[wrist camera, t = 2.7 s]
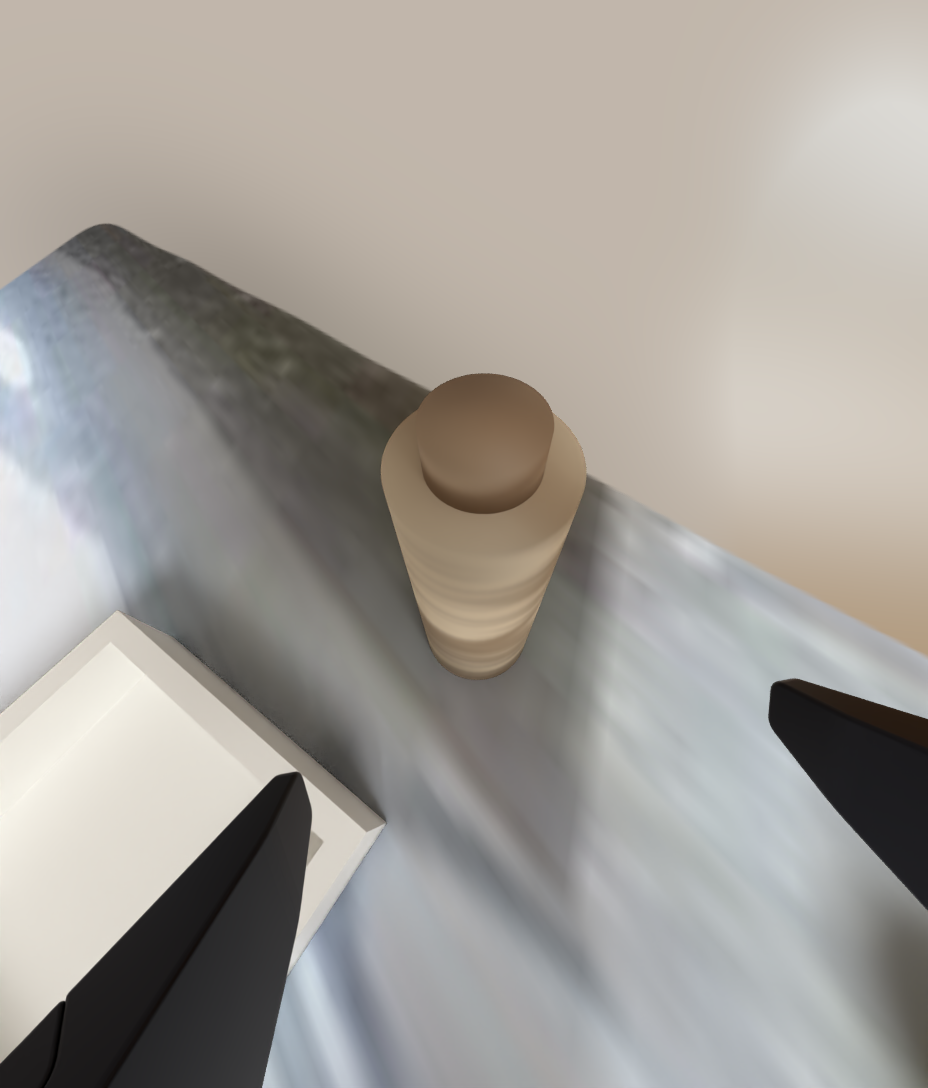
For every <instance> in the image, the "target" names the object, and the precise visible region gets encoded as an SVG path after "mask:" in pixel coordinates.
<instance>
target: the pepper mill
mask: <svg viewBox="0 0 928 1088" xmlns="http://www.w3.org/2000/svg"><path fill="white" fill-rule="evenodd" d="M381 481H382V486H383V490H384V494H385V497H386V500H387V504H388V507H389V510H390V514H391V517H392V521H393V524H394V527H395V531H396V534H397V537H398V541H399V544H400V547H401V551H402V554H403V558H404V561H405V564H406V568H407V571H408V574H409V578H410V581H411V584H412V588H413V591H414V595H415V598H416V601H417V605H418V608H419V611H420V615H421V618H422V621H423V625H424V628H425V632H426V635H427V638H428V642H429V645H430V648H431V650H432V652H433V654H434V656H435V658H436V659H437V660H438V662H439V663H440V664H441V665H442V666H443V667H444V668H445V669H447V670H448V671H449V672H451V673H453V674H454V675H457V676H459V677H462V678H466V679H471V680H483V679H489V678H493V677H495V676H498V675H500V674H502V673H503V672H505V671H506V670H508V669H509V668H510V667H511V666H512V665H513V664H514V663H515V662H516V661H517V659H518V658H519V656H520V654H521V652H522V650H523V648H524V645H525V642H526V640H527V637H528V635H529V632H530V629H531V627H532V624H533V622H534V619H535V617H536V614H537V611H538V609H539V606H540V604H541V601H542V598H543V596H544V593H545V591H546V588H547V585H548V583H549V580H550V578H551V575H552V573H553V570H554V567H555V565H556V562H557V560H558V557H559V554H560V552H561V549H562V547H563V544H564V541H565V539H566V536H567V534H568V531H569V529H570V526H571V523H572V521H573V518H574V516H575V513H576V510H577V508H578V505H579V503H580V500H581V497H582V495H583V492H584V488H585V483H586V463H585V458H584V454H583V451H582V449H581V446H580V444H579V442H578V440H577V438H576V437H575V435H574V434H573V433H572V431H571V430H570V428H569V427H568V426H567V425H566V424H565V423H564V422H563V421H562V420H561V419H560V418H558V417H557V416H556V415H555V414H554V413H552V410H551V408H550V406H549V404H548V403H547V402H546V400H545V399H544V398H543V396H542V395H541V394H540V393H539V392H537V391H536V390H535V389H534V388H532V387H530V386H529V385H527V384H525V383H524V382H522V381H520V380H517V379H514V378H511V377H507V376H504V375H498V374H470V375H465V376H461V377H458V378H454V379H452V380H449V381H447V382H445V383H443V384H441V385H440V386H438V387H437V388H435V389H434V390H433V391H432V392H430V393H429V394H428V395H427V396H426V398H425V399H424V400H423V402H422V403H421V405H420V407H419V409H418V410H416V411H415V412H414V413H412V414H411V415H410V416H408V417H407V418H406V419H405V420H404V421H403V422H402V423H401V424H400V425H399V426H398V427H397V428H396V430H395V431H394V433H393V434H392V436H391V437H390V439H389V441H388V443H387V445H386V447H385V450H384V453H383V456H382V462H381Z"/></svg>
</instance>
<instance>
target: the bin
mask: <svg viewBox="0 0 928 1088" xmlns="http://www.w3.org/2000/svg"><path fill="white" fill-rule="evenodd" d="M295 771H297V772H300V773H301V775H302V777H303V780H304V783H305V786H306V790H307V793H308V797H309V800H310V804H311V808H312V824H311V832H310V840H309V848H308V856H307V864H306V871H305V879H304V887H303V895H302V903H301V910H300V916H299V922H298V927H297V932H296V937H295V942H294V947H293V951H292V955H291V960H290V964H289V969H288V973H287V976H288V975H289V973H290V972H291V970H292V969H293V967H294V966H295V964H296V963H297V961H298V959H299V958H300V956H301V955H302V953H303V952H304V950H305V949H306V947H307V946H308V944H309V942H310V941H311V939H312V938H313V936H314V935H315V933H316V932H317V930H318V929H319V927H320V926H321V924H322V922H323V921H324V919H325V918H326V916H327V915H328V913H329V912H330V910H331V909H332V907H333V905H334V904H335V902H336V901H337V899H338V898H339V896H340V895H341V893H342V892H343V890H344V888H345V887H346V885H347V884H348V882H349V881H350V879H351V878H352V876H353V875H354V873H355V871H356V870H357V868H358V867H359V865H360V864H361V862H362V861H363V859H364V858H365V856H366V854H367V853H368V851H369V850H370V848H371V847H372V845H373V844H374V842H375V841H376V839H377V838H378V836H379V834H380V833H381V831H382V830H383V828H384V827H385V825H386V824H387V822H385V821H384V820H383V819H382V818H381V817H380V816H379V815H377V814H376V813H375V812H374V811H373V810H372V809H371V808H369V807H368V806H367V805H366V804H365V803H364V802H362V801H361V800H360V799H359V798H358V797H357V796H356V795H354V794H353V793H352V792H351V791H350V790H349V789H348V788H346V787H345V786H344V785H343V784H342V783H341V782H339V781H338V780H337V779H336V778H335V777H334V776H333V775H331V774H330V773H329V772H328V771H327V770H326V769H324V768H323V767H322V766H321V765H320V764H319V763H318V762H316V761H315V760H314V759H313V758H312V757H311V756H310V755H308V754H307V753H306V752H305V751H304V750H303V749H301V748H300V747H299V746H298V745H297V744H296V743H295V742H293V741H292V740H291V739H290V738H289V737H288V736H287V735H285V734H284V733H283V732H282V731H281V730H280V729H278V728H277V727H276V726H275V725H274V724H273V723H272V722H270V721H269V720H268V719H267V718H266V717H265V716H263V715H262V714H261V713H260V712H259V711H258V710H257V709H255V708H254V707H253V706H252V705H251V704H250V703H249V702H247V701H246V700H245V699H244V698H243V697H242V696H240V695H239V694H238V693H237V692H236V691H235V690H234V689H232V688H231V687H230V686H229V685H228V684H227V683H226V682H224V681H223V680H222V679H221V678H220V677H219V676H217V675H216V674H215V673H214V672H213V671H212V670H211V669H209V668H208V667H207V666H206V665H205V664H204V663H202V662H201V661H200V660H199V659H198V658H197V657H196V656H194V655H193V654H192V653H191V652H190V651H189V650H188V649H186V648H185V647H184V646H183V645H182V644H181V643H179V642H178V641H177V640H176V639H175V638H174V637H172V636H170V635H167V634H165V633H163V632H161V631H159V630H157V629H155V628H153V627H151V626H149V625H147V624H145V623H143V622H141V621H139V620H137V619H135V618H133V617H131V616H129V615H127V614H125V613H123V612H121V611H119V610H117V611H116V612H115V613H113V614H112V615H111V616H110V617H109V618H108V619H107V620H106V621H104V622H103V623H102V624H101V625H100V626H99V627H98V628H96V629H95V630H94V631H93V632H92V633H91V634H90V635H89V636H87V637H86V638H85V639H84V640H83V641H82V642H81V643H80V644H78V645H77V646H76V647H75V648H74V649H73V650H72V651H71V652H69V653H68V654H67V655H66V656H65V657H64V658H63V659H62V660H60V661H59V662H58V663H57V664H56V665H55V666H54V667H53V668H51V669H50V670H49V671H48V672H47V673H46V674H45V675H44V676H42V677H41V678H40V679H39V680H38V681H37V682H36V683H35V684H33V685H32V686H31V687H30V688H29V689H28V690H27V691H26V692H24V693H23V694H22V695H21V696H20V697H19V698H18V699H17V700H15V701H14V702H13V703H12V704H11V705H10V706H9V707H8V708H6V709H5V710H4V711H3V712H2V713H1V714H0V1063H1V1062H2V1061H3V1060H4V1059H5V1058H6V1057H7V1056H8V1055H9V1054H10V1053H11V1052H12V1051H13V1050H14V1049H15V1048H16V1047H17V1046H18V1045H19V1044H20V1043H21V1042H22V1040H23V1039H24V1038H25V1037H26V1036H27V1035H28V1034H29V1033H30V1032H31V1031H32V1030H33V1029H34V1028H35V1027H36V1026H37V1025H38V1024H39V1023H40V1022H41V1021H42V1020H43V1019H44V1017H45V1016H46V1015H47V1014H48V1013H49V1012H50V1011H51V1010H52V1009H53V1008H54V1007H55V1006H56V1005H57V1004H58V1003H59V1002H60V1001H65V1000H66V996H67V994H68V993H69V991H70V990H71V989H72V988H73V987H74V986H75V985H76V984H77V983H78V982H79V981H80V980H81V979H82V978H83V977H84V976H85V975H86V974H87V973H88V972H89V971H90V969H91V968H92V967H93V966H94V965H95V964H96V963H97V962H98V961H99V960H100V959H101V958H102V957H103V956H104V955H105V954H106V953H107V952H108V951H109V950H110V948H111V947H112V946H113V945H114V944H115V943H116V942H117V941H118V940H119V939H120V938H121V937H122V936H123V935H124V934H125V933H126V932H127V931H128V930H129V929H130V927H131V926H132V925H133V924H134V923H135V922H136V921H137V920H138V919H139V918H140V917H141V916H142V915H143V914H144V913H145V912H146V911H147V910H148V909H149V908H150V906H151V905H152V904H153V903H154V902H155V901H156V900H157V899H158V898H159V897H160V896H161V895H162V894H163V893H164V892H165V891H166V890H167V889H168V888H169V887H170V885H171V884H172V883H173V882H174V881H175V880H176V879H177V878H178V877H179V876H180V875H181V874H182V873H183V872H184V871H185V870H186V869H187V868H188V867H189V866H190V864H191V863H192V862H193V861H194V860H195V859H196V858H197V857H198V856H199V855H200V854H201V853H202V852H203V851H204V850H205V849H206V848H207V847H208V846H209V845H210V844H211V842H212V841H213V840H214V839H215V838H216V837H217V836H218V835H219V834H220V833H221V832H222V831H223V830H224V829H225V828H226V827H227V826H228V825H229V824H230V823H231V821H232V820H233V819H234V818H235V817H236V816H237V815H238V814H239V813H240V812H241V811H242V810H243V809H244V808H245V807H246V806H247V805H248V804H249V803H250V802H251V800H252V799H253V798H254V797H255V796H256V795H257V794H258V793H259V792H260V791H261V790H262V789H263V788H264V787H265V786H266V785H267V784H268V783H269V782H270V781H271V779H273V778H274V777H275V776H276V775H279V774H284V773H289V772H295Z"/></svg>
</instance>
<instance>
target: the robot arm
mask: <svg viewBox="0 0 928 1088" xmlns="http://www.w3.org/2000/svg"><path fill="white" fill-rule="evenodd" d="M768 718H769V723H770V725H771V727H772V729H773V731H774V732H775V734H776V735H777V736H778V738H779V739H780V740H781V741H782V743H783V744H784V745H785V746H786V748H787V749H788V750H789V752H790V753H791V754H792V755H793V757H794V758H795V759H796V761H797V762H798V763H799V764H800V766H801V767H802V768H803V769H804V771H805V772H806V773H807V775H808V776H809V777H810V778H811V780H812V781H813V782H814V783H815V785H816V786H817V787H818V789H819V790H820V791H821V792H822V794H823V795H824V796H825V797H826V799H827V800H828V801H829V802H830V803H831V805H832V806H833V807H834V808H835V809H836V811H837V812H838V813H839V814H840V815H841V816H842V817H843V819H844V820H845V821H846V822H847V823H848V824H849V825H850V826H851V827H852V829H853V830H854V831H855V832H856V833H857V834H858V835H859V836H860V837H861V838H862V839H863V841H864V842H865V843H866V844H867V845H868V846H869V847H870V848H871V849H872V850H873V851H874V853H875V854H876V855H877V856H878V857H879V858H880V859H881V860H882V861H883V862H884V863H885V865H886V866H887V867H888V868H889V869H890V870H891V871H892V872H893V873H894V874H895V875H896V877H897V878H898V879H899V880H900V881H901V882H902V883H903V884H904V885H905V886H906V887H907V889H908V890H909V891H910V892H911V893H912V894H913V895H914V896H915V897H916V898H917V899H918V901H919V902H920V903H921V904H922V905H923V906H924V907H925V908H926V909H927V910H928V719H926V718H922V717H919V716H916V715H913V714H910V713H906V712H903V711H900V710H897V709H894V708H890V707H887V706H884V705H881V704H877V703H874V702H871V701H868V700H865V699H861V698H858V697H855V696H852V695H848V694H845V693H842V692H839V691H836V690H832V689H829V688H826V687H823V686H820V685H816V684H813V683H810V682H807V681H803V680H800V679H787V680H781V681H777V682H775V683H773V685H772V686H771V691H770V702H769V714H768ZM311 824H312V808H311V804H310V800H309V797H308V793H307V790H306V786H305V783H304V780H303V777H302V775H301V773H300V772H297V771H295V772H289V773H284V774H279V775H276V776H275V777H274V778H273V779H271V781H270V782H269V783H268V784H267V785H266V786H265V787H264V788H263V789H262V790H261V791H260V792H259V793H258V794H257V795H256V796H255V797H254V798H253V799H252V800H251V802H250V803H249V804H248V805H247V806H246V807H245V808H244V809H243V810H242V811H241V812H240V813H239V814H238V815H237V816H236V817H235V818H234V819H233V820H232V821H231V823H230V824H229V825H228V826H227V827H226V828H225V829H224V830H223V831H222V832H221V833H220V834H219V835H218V836H217V837H216V838H215V839H214V840H213V841H212V842H211V844H210V845H209V846H208V847H207V848H206V849H205V850H204V851H203V852H202V853H201V854H200V855H199V856H198V857H197V858H196V859H195V860H194V861H193V862H192V863H191V864H190V866H189V867H188V868H187V869H186V870H185V871H184V872H183V873H182V874H181V875H180V876H179V877H178V878H177V879H176V880H175V881H174V882H173V883H172V884H171V885H170V887H169V888H168V889H167V890H166V891H165V892H164V893H163V894H162V895H161V896H160V897H159V898H158V899H157V900H156V901H155V902H154V903H153V904H152V905H151V906H150V908H149V909H148V910H147V911H146V912H145V913H144V914H143V915H142V916H141V917H140V918H139V919H138V920H137V921H136V922H135V923H134V924H133V925H132V926H131V927H130V929H129V930H128V931H127V932H126V933H125V934H124V935H123V936H122V937H121V938H120V939H119V940H118V941H117V942H116V943H115V944H114V945H113V946H112V947H111V948H110V950H109V951H108V952H107V953H106V954H105V955H104V956H103V957H102V958H101V959H100V960H99V961H98V962H97V963H96V964H95V965H94V966H93V967H92V968H91V969H90V971H89V972H88V973H87V974H86V975H85V976H84V977H83V978H82V979H81V980H80V981H79V982H78V983H77V984H76V985H75V986H74V987H73V988H72V989H71V990H70V991H69V993H68V994H67V996H66V1000H65V1001H60V1002H59V1003H58V1004H57V1005H56V1006H55V1007H54V1008H53V1009H52V1010H51V1011H50V1012H49V1013H48V1014H47V1015H46V1016H45V1017H44V1019H43V1020H42V1021H41V1022H40V1023H39V1024H38V1025H37V1026H36V1027H35V1028H34V1029H33V1030H32V1031H31V1032H30V1033H29V1034H28V1035H27V1036H26V1037H25V1038H24V1039H23V1040H22V1042H21V1043H20V1044H19V1045H18V1046H17V1047H16V1048H15V1049H14V1050H13V1051H12V1052H11V1053H10V1054H9V1055H8V1056H7V1057H6V1058H5V1059H4V1060H3V1061H2V1062H1V1063H0V1088H262V1085H263V1081H264V1076H265V1072H266V1067H267V1063H268V1058H269V1054H270V1049H271V1045H272V1040H273V1036H274V1032H275V1027H276V1023H277V1018H278V1014H279V1009H280V1005H281V1000H282V996H283V991H284V987H285V982H286V978H287V973H288V969H289V964H290V960H291V955H292V951H293V947H294V942H295V937H296V932H297V927H298V922H299V916H300V910H301V903H302V895H303V887H304V879H305V871H306V864H307V856H308V848H309V840H310V832H311Z"/></svg>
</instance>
